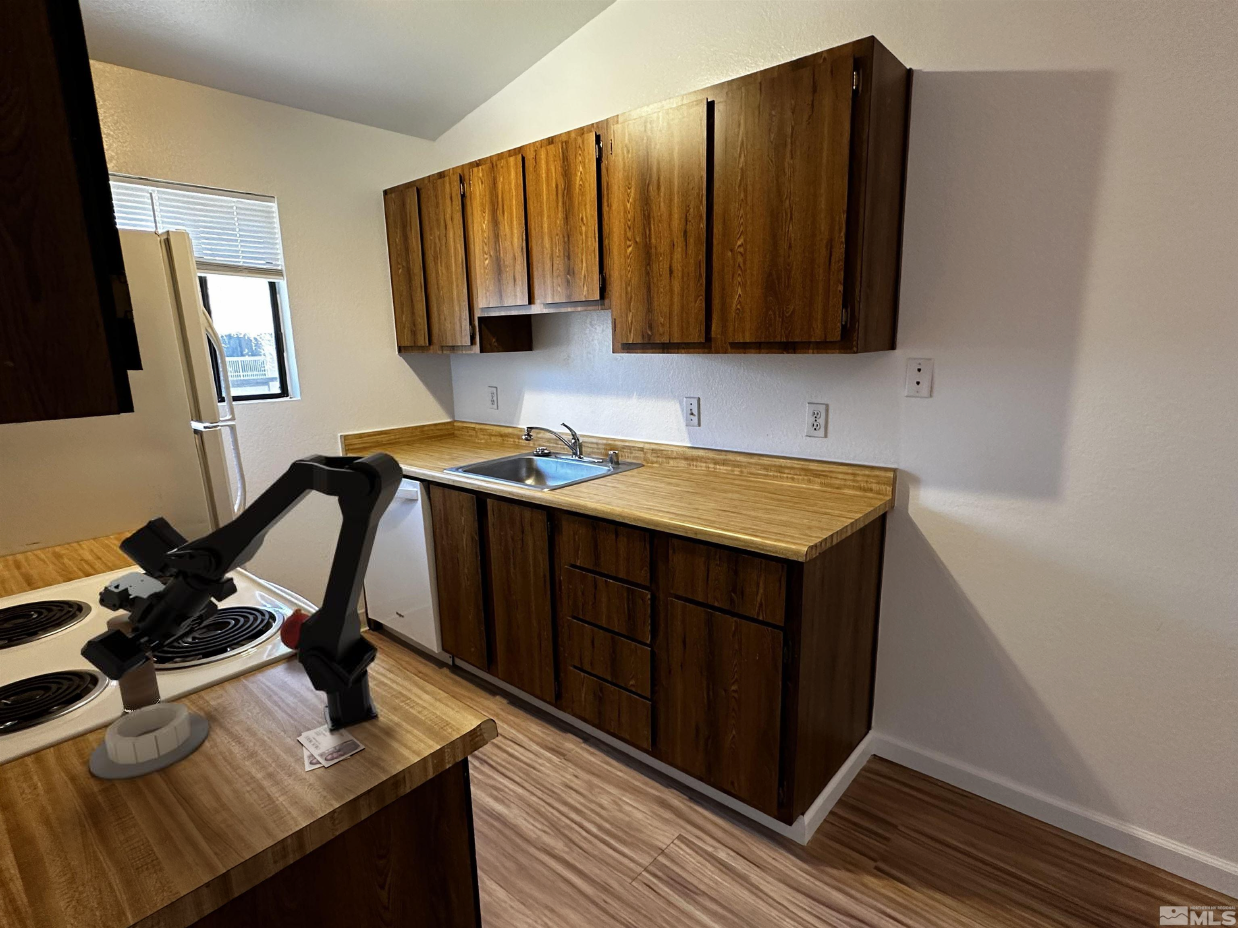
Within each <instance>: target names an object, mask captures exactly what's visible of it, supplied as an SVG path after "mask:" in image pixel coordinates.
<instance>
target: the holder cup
mask: <svg viewBox="0 0 1238 928" xmlns="http://www.w3.org/2000/svg"><path fill="white" fill-rule="evenodd" d="M188 709H189V708H188V707H187V706H186V705H185V704H183V703H180V702H175V701H174V702H161V703H160V702H159V703H158V704H154V705H151V706H147V707H143V708H141V710H140V709H137V710H135V711H133V712H131V713H126V714H125V715H122V716H121V717H119V718H117V720H115V721H114V722H113V723H112V724H110V725H109V726H108V727H107V729H106V732H105V735H104V741H102V742H101V743H100V744H98V746H97V747H96V748H95V749H94V750H93V752H92V754H91V755H90V757H89V761H88V764H89V765H88V766H89V769H90V770H89V771H90V772H91V774H92V775H94V776H95V777H98V778H99V779H100V778H101V779H104V780H105V779H106V780H124V779H125V780H126V779H133V778H136V777H141V776H144V775H147V774H150V773H154V772H157V771H159V770H162V769H165V768H166V767H169V766H171V765H173V764H174V763H177V762H179V761H181V760H182V759H184V758H185V757H187V756H189V755H190V754H191V753H193V752H194V751H196V750H197V748H199V747H200V746H201V745H202V744H203V742H204V741H205V740H206V739H207V737H208V734H209V731H210V727H209V722H208V720H207V719H206V717H204V716H202V714H201V715H200V714H198V713H193V712H189V710H188Z"/></svg>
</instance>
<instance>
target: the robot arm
mask: <svg viewBox="0 0 1238 928" xmlns="http://www.w3.org/2000/svg"><path fill="white" fill-rule="evenodd" d="M403 479H404V471H403V467H402V466H401V465H400V463H399V461H398V460H397V459H396V458H395V457H394V456H392V455H391V454H388V453H387V452H381V451H380V452H374V453H371V454H368V455H325V454H318V453H314V454H310V455H306V456H305V457H302V458H299V459H297V460H294V461H293V462H292V463H291V464H290V465H289V466H288V469H287V470H286V471H285V472H283V474H281V476H279V477H278V478H277V479H276V480H275V481H274V482H273V483H272V484H271V485H270V486H269V487H267V489H266V490H265V491H264V492H262V493H261V494H260V495H259V496H258V497H257V498H256V499H255V500H254V501H253V502H252V503H250V505H248V506H247V507H246V508H245V509H244V510H243V511H242V512H241V513H240V514H239V515H238V516H237V517H236V518H235V519H232V521H230V522H228V523H227V524H224V525H223V526H221V527H219V528H218V529H215V530H214V531H212V532H210V533H209V534H207V535H205V536H204V535H203V536H201V537H199V538H196V539H195V540H192V541H188V540H187V539H186V537H184V536H183V535H182V534H180V533H179V532H178V531H177V530H176V529H175V528H174V527H173V526H172V525H171V524H170V523H169V522H168V520H166V518H164V516H157V517H154V518H153V519H150V520H148V521H147V523H146V524H145V525H143V526H142V527H140V528H139V529H137V530H136V531H134V532H133V533H132V534H130V536H128V537H125V538H124V539H123V540H122V541H121V542H120V544H119V547H118V549H119V550H120V551H121V552H122V553H123V554H124V555H125V556H127V557H128V559H130V560H131V561H132V562H133V563H134V564H135V565H137V566H138V567H139V568H140V569H142V570H143V571H144V572H145V573H146V574H144V573H142V572H138V571H131V572H128V573H126V574H123V575H122V576H119V577H117V578H115V579H113V580H111V581H110V582H109V583H108V584H107V585H105V586H104V588H103V590H101V591H99V592H98V596H99V598H98V603H99V606H101V607H103V608H105V609H107V610H109V611H112V612H117V611H119V610H123V611H125V612H126V613H129V612H130V613H131V614H130V616H129V617H128V618H127V619H129V620H130V621H131V622H132V623H133V624H135V623H138V624H139V625H137V626H135V627H134V628H132V629H131V630H130V632H131V633H132V634H133V636H131V637H128V636H127V635H125V634H124V633H123V632H122V631H121V630H120V629H109V630H108V629H107V630H105V631H104V632H102V633H100V634H98V635H96V636H95V637H92V638H90V639H89V640H87V641H86V643H85V644H84V645H83V646H82V647H81V649H80V656H81V657H83V658H84V659H85V660H87V662H89V663H90V664H91V665H92V666H94V667H95V668H96V669H97V670H98V671H99V672H101V673H102V674H103V675H104V676H105V677H106V678H108V679H109V680H110V681H117V682H118V680H119V679H121V678H123V677H124V676H126V675H127V674H129V673H130V672H132V671H133V670H135V669H137V668H139V667H140V666H142V665H143V664H145V663H146V662H148V661H150V660H151V659H150V658H149V657H148V656H147V655H146V654H148V653H149V652H150V651H152V655H153V654H155V653H157V652H159V651H161V650H163V649H166V648H168V647H170V646H172V645H174V644H177V643H179V642H180V641H182V640H183V639H185V638H187V637H189V636H190V635H192V634H193V633H195V631H196V629H195V627H194V626H193V624H192V623H191V622H192V621H193V620H194V619H195V618H197V619H198V620H199V621H198V622H197V623H196V624H197V626H198V627H200V628H203V627H204V626H206V625H207V624H208V623H210V622H211V621H213V620H214V619H215V617H217V616H218V614H220V613H219V612H220V611H219V605H218V604H217V603H215V601H216V602H218V603H222V602H223V601H226V600H227V599H229V598H230V597H231V596H233V595H235V594H237V592H238V588H237V585H236V583H235V582H234V581H235V579H234V577H232V576H230V577H229V576H227V574H229V573H231V572H233V571H235V570H237V569H238V568H240V567H242V566H244V565H245V564H247V563H249V562H251V561H252V559H253V558H254V556H256V554H257V553H258V551H259V550H260V549H261V547H262V546H263V545H264V541H265V537H266V536H267V534H268V533H269V532H270V531H271V530H272V529H273V528H274V527H276V525H277V524H278V523H279V522H280V521H281V520H283V519H284V517H286V516H287V515H288V514H289V513H290V512H291V511H293V509H295V507H297V506H298V505H299V504H300V503H301V502H302V501H304V499H305V498H306V497H307V496H309V495H310V494H311V493H312V492H314V491H315V492H318V493H321V494H323V495H326V496H330V497H337V503H338V506H339V509H340V513H341V516H342V522H341V525H340V530H339V533H338V538H337V542H336V546H335V551H334V554H333V559H332V563H331V567H330V571H329V576H328V580H327V583H326V588H325V592H324V597H323V599H322V605H321V607H319V608H318V609H317V610H315V611H314V612H313V613H312V614H309V615H310V616H309V617H308V618H307V619H306V620H304V621H303V622H302V623H301V626H300V630H299V640H298V643H297V644H296V645H295V647H294V649H299V650H298V651H297V662H298V663H299V664H301V665H302V667H303V669H304V671H305V673H306V675H307V677H308V679H309V681H310V683H311V685H312V686H313V689H314V691H316V692H324V693H325V695H326V702H327V704H325V705H324V706H323V707H322V709H323V712H324V716H325V720H326V724H327V728H328V730H329V731H330V732H333V731H337V730H340V729H343V728H347V727H350V726H353V725H357V724H360V723H362V722H365V721H369V720H372V719H375V718H377V717H378V716H379V713H378V710H377V707H376V705H375V703H374V701H373V698H372V695H371V689H370V682H369V681H370V680H369V672H368V671H369V670H368V668H369V667H370V665H371V664H372V663H374V662H375V660H376V659H377V654H378V651H379V649H378V647H376V646H375V645H374V644H373V643H372V642H371V641H369V639H367V638H366V637H365V636H364V635H363V634H362V631H361V629H362V620H361V617H360V614H359V612H358V606H359V602H360V598H361V594H362V591H363V586H364V582H365V579H366V576H367V575H366V574H367V572H368V571H367V570H368V567H369V563H370V558H371V555H372V551H373V547H374V543H375V540H376V536H377V531H378V527H379V524H380V521H381V518H382V517H383V516H384V514H385V512H386V511H387V509H388V508H389V507H390V505H391V503H392V502H393V501H394V498H395V496H396V494H397V493H398V489H399V488H400V485H401V483H402V481H403ZM174 573H175V574H174ZM147 574H148V575H147ZM172 574H174V575H173V576H172V577H171V579H170V580H169V581H168V582H167V584H166V585H164V584H162V582H161V581H159V580H158V579H156V577H158V576H159V575H161V576H162V577H164V578H165V577H169V576H170V575H172ZM212 598H213V599H214V600H215V601H213V600H212ZM147 639H148V640H147ZM145 640H146V641H145ZM142 642H143V643H142Z"/></svg>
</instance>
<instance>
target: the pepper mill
mask: <svg viewBox="0 0 1238 928" xmlns="http://www.w3.org/2000/svg"><path fill="white" fill-rule="evenodd" d="M130 614H131V613H130V612H125V613H121V614H118V615H115V616H113V617H111V618H109V619H108V620H107V621H106V627H107V630H109V629H120V630H121V631H122V632H123V633H124V634H125V635H127V636H128V637H131V636H133V634H132V633H131V632H130V630H131V629H132V628H134V627H135V626H137V625H139V624H138V623H135V624H133V623H132V622H131V621H130V620H129V619H127V618H128V617H129V616H130ZM147 640H148V639H147ZM145 641H146V640H145ZM142 643H143V642H142ZM146 655H147V656H148V657H149V658H150V659H151V660H150V661H148V662H146V663H145V664H143V665H142V666H140V667H139V668H137V669H135V670H133V671H132V672H130V673H129V674H127V675H126V676H124V677H123V678H121V679H119V680H118V681H117V683H118V686H119V687H118V688H119V692H120V695H121V696H120V697H121V701H122V707H123V710H124V709H126V710H131V711H132V710H133V711H134V710H137V709H140V710H141V708H143V707H147V706H151V705H154V704H156V703H157V702H158V701H159V699H160V700H161V693H160V689H159V684H158V679H157V674H156V669H155V663H154V662H155V661H154V659H153V654H152V651H150V652H149V653H148V654H146Z"/></svg>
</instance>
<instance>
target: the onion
mask: <svg viewBox="0 0 1238 928" xmlns="http://www.w3.org/2000/svg"><path fill="white" fill-rule="evenodd" d="M310 615H311V614H307V613H305V612H302V608H301V607H296V608H295V609H294V610H293V612H292V613H291V614H290V615H288V617H286V619H285V620H284V622H283V623H282V624H281V626H280V630H279V635H280V637H279V638H280V641H281V643H282V644H283V645H284V646H285V647H286V648H288V649H290V650H291V651H295V652H298V650H299V649H294V647H295V645H296V644H297V643H298V640H299V630H300V626H301V623H302V622H303V621H304V620H306V619H307V618H308V617H309V616H310Z"/></svg>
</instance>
